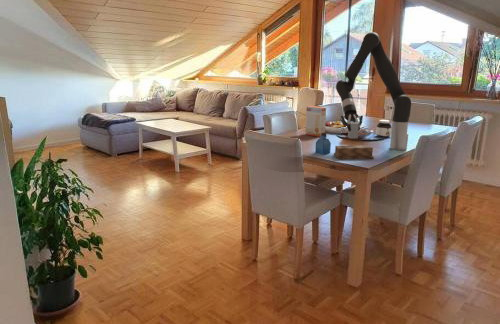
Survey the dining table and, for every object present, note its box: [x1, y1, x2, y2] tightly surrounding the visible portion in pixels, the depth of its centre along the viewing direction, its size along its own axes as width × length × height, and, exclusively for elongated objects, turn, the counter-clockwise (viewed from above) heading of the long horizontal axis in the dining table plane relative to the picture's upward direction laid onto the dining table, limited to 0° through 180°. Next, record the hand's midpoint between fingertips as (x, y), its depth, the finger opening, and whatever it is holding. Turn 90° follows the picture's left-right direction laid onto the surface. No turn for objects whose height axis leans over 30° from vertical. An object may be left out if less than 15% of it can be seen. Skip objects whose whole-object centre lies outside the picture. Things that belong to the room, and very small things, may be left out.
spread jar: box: [375, 119, 392, 138], centre depth 281 cm, size 12×11×12 cm
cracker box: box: [305, 105, 327, 138], centre depth 281 cm, size 14×6×21 cm, turn 40°
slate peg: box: [347, 122, 359, 139], centre depth 232 cm, size 4×4×9 cm
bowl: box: [325, 120, 347, 135], centre depth 300 cm, size 30×30×8 cm
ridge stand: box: [333, 145, 375, 160], centre depth 223 cm, size 20×10×6 cm, turn 95°
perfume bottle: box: [314, 132, 332, 155], centre depth 231 cm, size 6×6×12 cm
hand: (354, 130), depth 230 cm, fingers closed on slate peg, 4 cm apart
